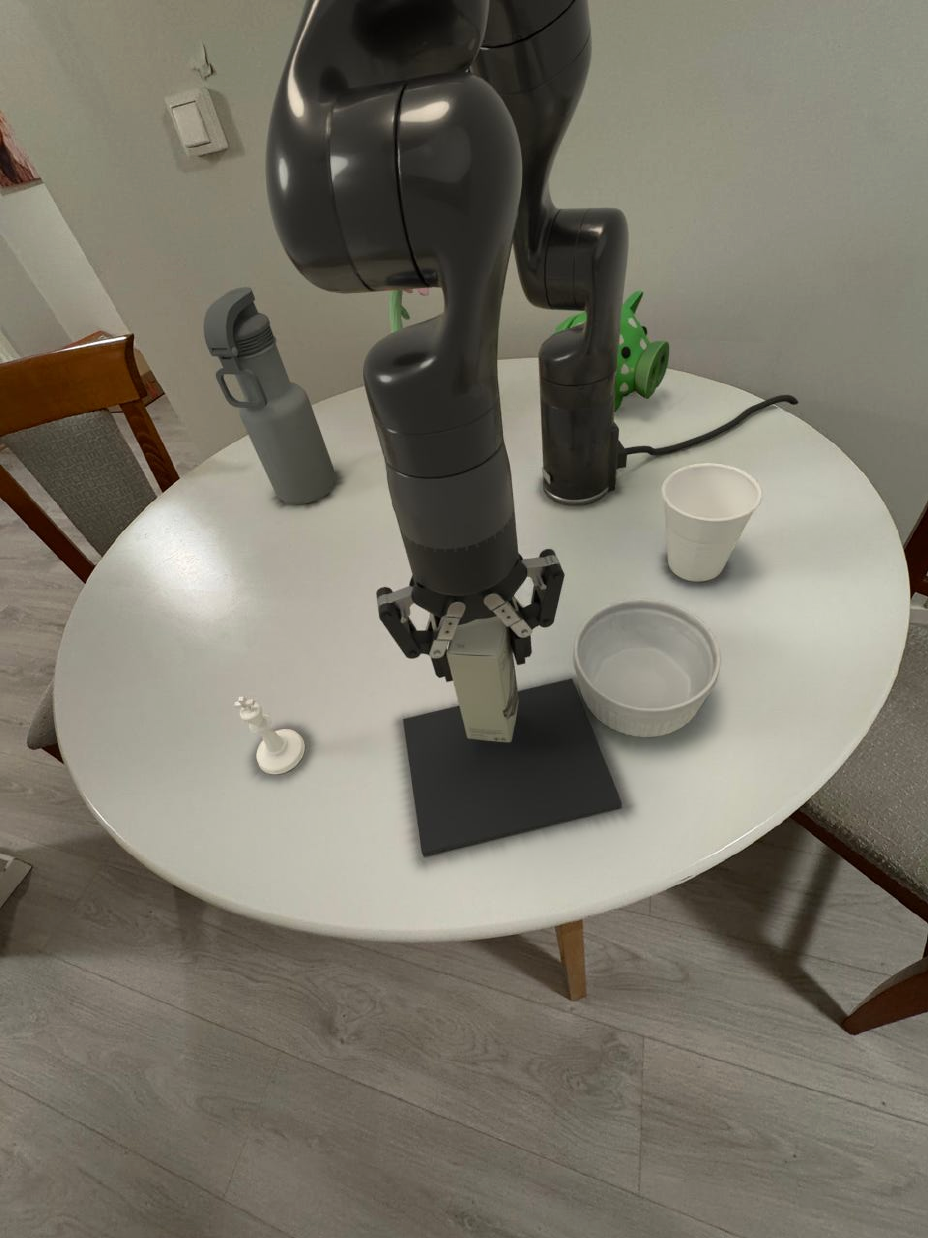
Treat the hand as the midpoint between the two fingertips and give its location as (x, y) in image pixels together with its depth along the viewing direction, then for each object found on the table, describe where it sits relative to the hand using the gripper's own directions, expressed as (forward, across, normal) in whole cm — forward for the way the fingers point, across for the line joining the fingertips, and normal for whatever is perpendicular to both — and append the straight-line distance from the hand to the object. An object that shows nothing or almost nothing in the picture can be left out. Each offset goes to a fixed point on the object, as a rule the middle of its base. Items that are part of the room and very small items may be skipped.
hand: (483, 664), depth 49 cm
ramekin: (+12, +15, +1) cm, 19 cm away
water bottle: (+12, -19, +51) cm, 56 cm away
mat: (+12, 0, -3) cm, 12 cm away
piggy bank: (+12, +31, +57) cm, 66 cm away
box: (+9, 0, 0) cm, 9 cm away
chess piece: (+12, -22, +4) cm, 25 cm away
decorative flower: (+12, +2, +61) cm, 62 cm away
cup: (+12, +28, +16) cm, 34 cm away
